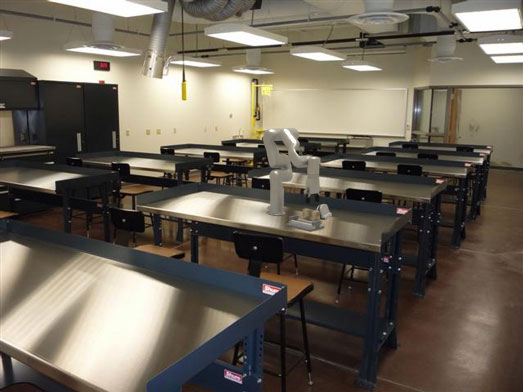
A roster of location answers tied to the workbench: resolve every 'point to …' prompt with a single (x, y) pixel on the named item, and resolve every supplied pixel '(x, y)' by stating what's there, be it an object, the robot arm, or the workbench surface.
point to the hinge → (324, 211)
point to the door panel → (311, 215)
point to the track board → (304, 224)
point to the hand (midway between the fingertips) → (312, 202)
